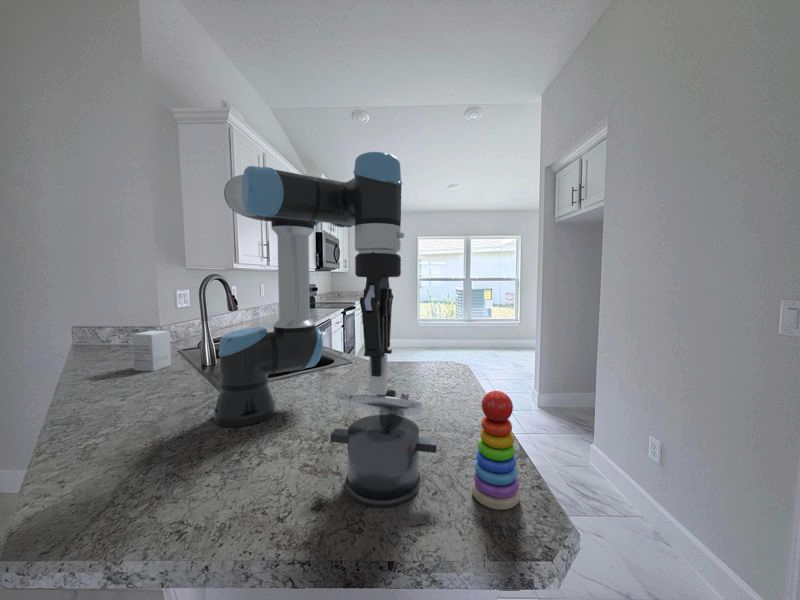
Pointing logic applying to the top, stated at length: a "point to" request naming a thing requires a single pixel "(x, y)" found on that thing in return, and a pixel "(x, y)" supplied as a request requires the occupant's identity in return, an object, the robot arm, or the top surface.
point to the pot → (383, 459)
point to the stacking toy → (496, 455)
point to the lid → (386, 403)
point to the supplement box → (151, 350)
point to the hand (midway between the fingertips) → (378, 392)
